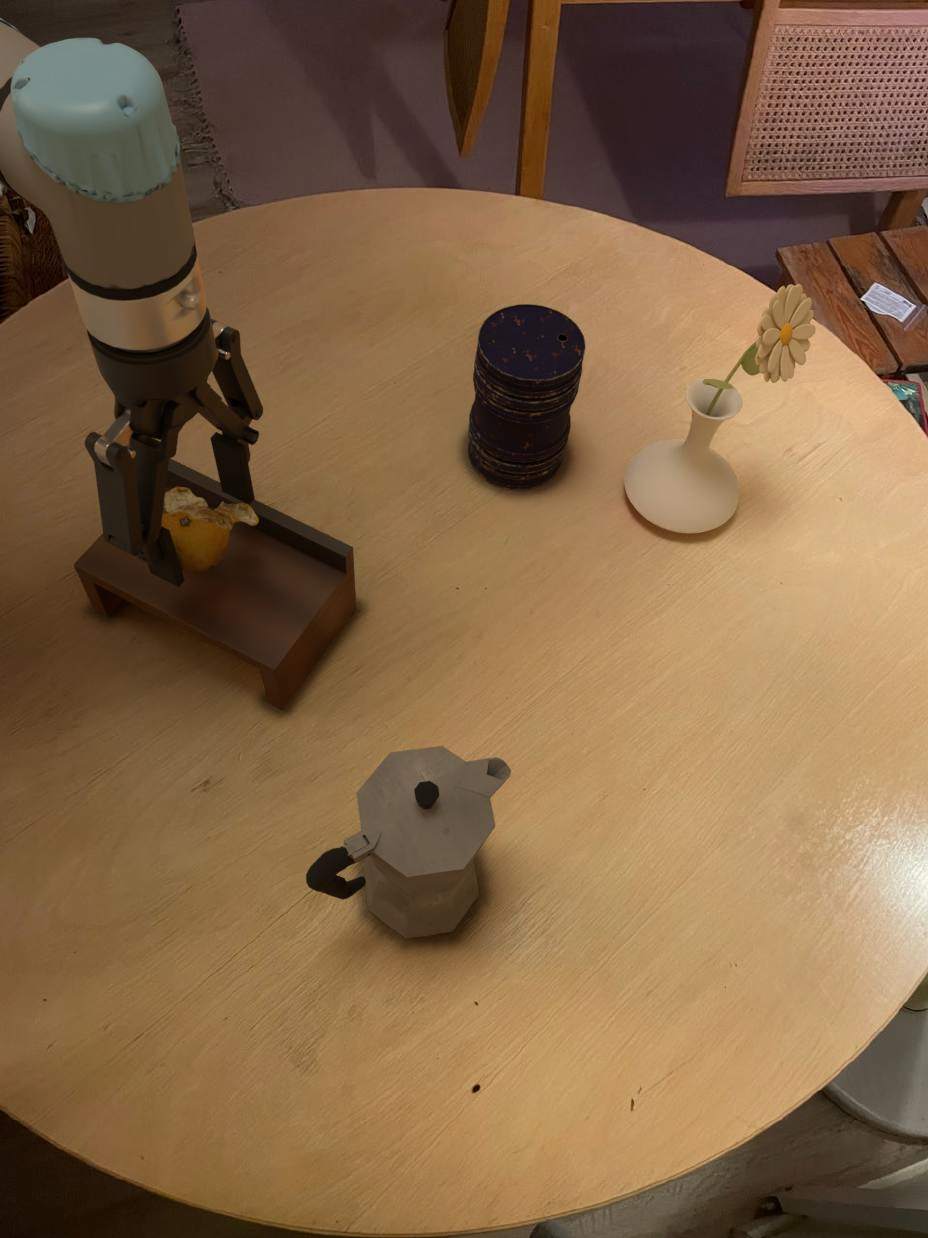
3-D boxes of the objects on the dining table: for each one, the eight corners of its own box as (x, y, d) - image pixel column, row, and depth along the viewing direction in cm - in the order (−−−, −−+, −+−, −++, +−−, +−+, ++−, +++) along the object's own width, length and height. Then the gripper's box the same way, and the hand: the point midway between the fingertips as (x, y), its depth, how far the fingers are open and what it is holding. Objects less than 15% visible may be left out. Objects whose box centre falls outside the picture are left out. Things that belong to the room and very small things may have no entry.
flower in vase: (656, 557, 99) (728, 363, 78) (600, 471, 104) (653, 268, 83) (770, 517, 102) (869, 321, 81) (710, 436, 108) (788, 232, 86)
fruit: (266, 509, 85) (261, 480, 82) (230, 590, 81) (223, 562, 78) (170, 487, 86) (162, 457, 83) (129, 565, 81) (119, 537, 78)
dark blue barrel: (477, 496, 102) (489, 387, 89) (457, 422, 107) (465, 308, 94) (575, 484, 103) (600, 374, 90) (550, 411, 108) (571, 298, 96)
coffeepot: (460, 792, 85) (475, 688, 70) (524, 889, 81) (554, 801, 66) (291, 887, 80) (267, 797, 65) (350, 996, 76) (339, 927, 61)
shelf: (282, 710, 88) (271, 654, 80) (93, 609, 92) (65, 547, 84) (356, 608, 94) (353, 546, 86) (175, 517, 98) (156, 451, 90)
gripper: (81, 452, 58) (159, 655, 77) (295, 240, 69) (316, 465, 88) (-24, 400, 60) (78, 612, 79) (201, 201, 70) (242, 430, 89)
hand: (203, 534), depth 83 cm, fingers closed on fruit, 9 cm apart
